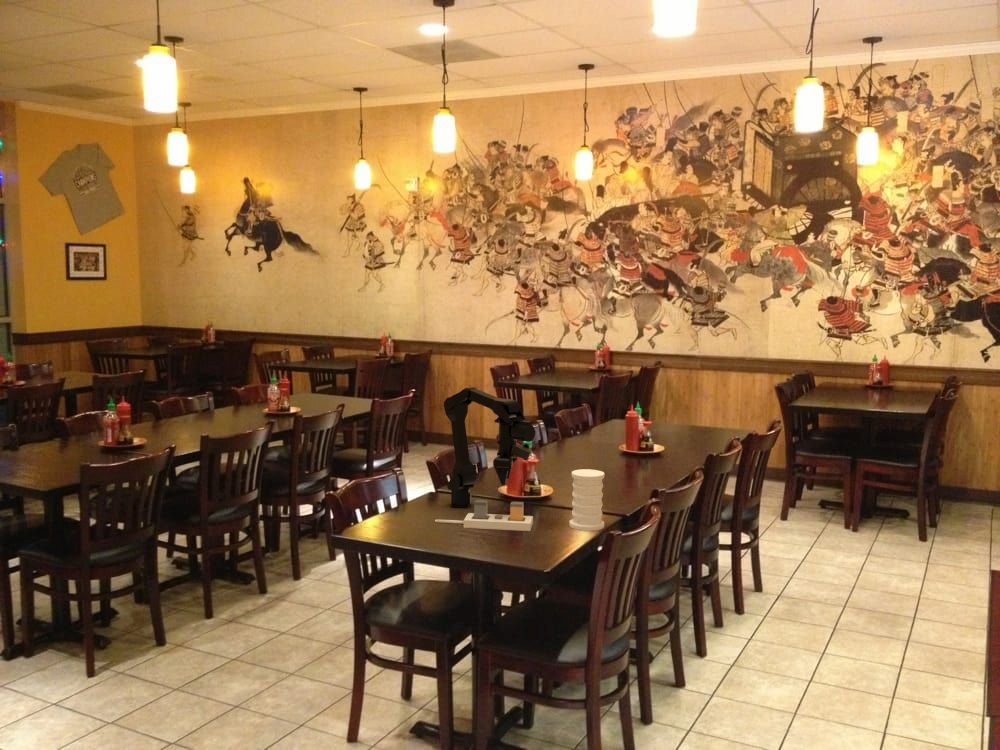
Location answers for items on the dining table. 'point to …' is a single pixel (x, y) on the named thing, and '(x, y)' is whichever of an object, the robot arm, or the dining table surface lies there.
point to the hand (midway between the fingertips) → (505, 481)
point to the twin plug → (480, 509)
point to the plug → (516, 511)
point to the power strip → (494, 522)
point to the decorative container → (587, 500)
